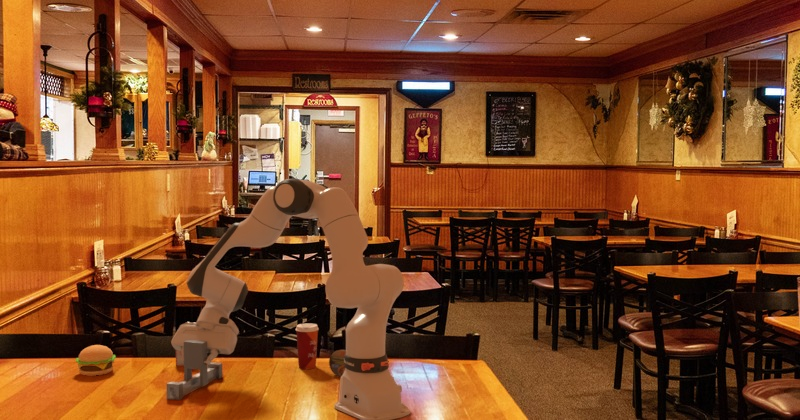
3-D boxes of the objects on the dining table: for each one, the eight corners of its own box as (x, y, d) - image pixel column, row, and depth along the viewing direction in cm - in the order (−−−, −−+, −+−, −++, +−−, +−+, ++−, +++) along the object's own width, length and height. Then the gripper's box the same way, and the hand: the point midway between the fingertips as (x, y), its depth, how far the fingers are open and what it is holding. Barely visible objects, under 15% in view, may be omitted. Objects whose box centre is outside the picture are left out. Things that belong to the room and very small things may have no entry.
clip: (207, 383, 224) (207, 341, 223) (203, 386, 221) (202, 343, 221) (189, 382, 226) (188, 339, 225) (184, 384, 223) (183, 341, 222)
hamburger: (107, 377, 234) (106, 350, 233) (69, 377, 234) (68, 350, 233) (122, 367, 246) (121, 341, 245) (86, 367, 246) (85, 341, 245)
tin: (328, 374, 238) (328, 348, 237) (333, 372, 241) (333, 346, 240) (369, 381, 231) (369, 354, 230) (374, 378, 234) (374, 352, 233)
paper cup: (317, 370, 243) (317, 328, 242) (293, 370, 243) (293, 327, 242) (320, 363, 250) (320, 322, 249) (297, 363, 251) (297, 322, 250)
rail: (211, 376, 236) (211, 362, 235) (222, 377, 235) (222, 363, 234) (166, 398, 213) (166, 383, 212) (179, 400, 212) (178, 384, 211)
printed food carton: (179, 363, 251) (179, 333, 250) (199, 363, 251) (198, 334, 250) (175, 366, 247) (175, 336, 247) (196, 366, 247) (195, 336, 246)
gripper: (178, 316, 232) (159, 354, 223) (236, 320, 226) (220, 360, 217) (186, 327, 236) (168, 365, 228) (243, 331, 231) (228, 371, 222)
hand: (194, 363), depth 223 cm, fingers closed on clip, 6 cm apart
